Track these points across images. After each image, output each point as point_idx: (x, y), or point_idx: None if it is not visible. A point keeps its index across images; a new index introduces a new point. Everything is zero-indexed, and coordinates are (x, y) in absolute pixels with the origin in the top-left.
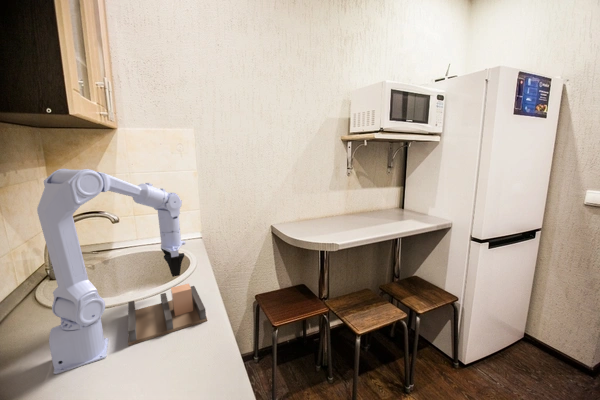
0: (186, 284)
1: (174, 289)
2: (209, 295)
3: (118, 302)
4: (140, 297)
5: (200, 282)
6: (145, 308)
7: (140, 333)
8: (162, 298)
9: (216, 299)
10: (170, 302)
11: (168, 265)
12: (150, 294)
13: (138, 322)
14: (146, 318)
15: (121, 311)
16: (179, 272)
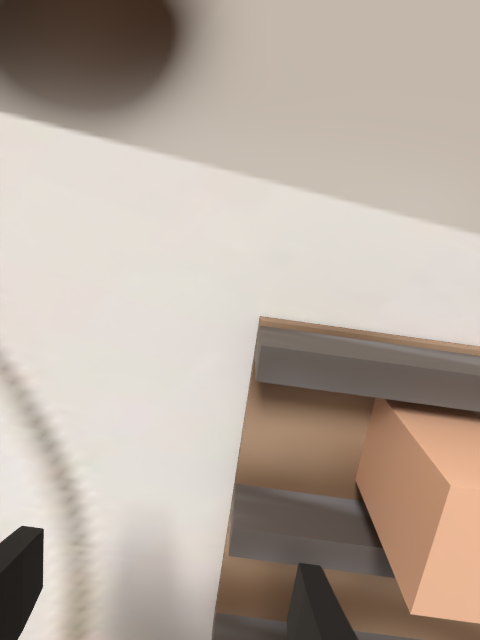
0: (454, 507)
1: (466, 602)
2: (305, 236)
3: (48, 634)
4: (55, 553)
5: (60, 214)
6: (235, 577)
7: (453, 630)
8: (300, 559)
9: (394, 218)
10: (261, 470)
11: (23, 628)
12: (49, 509)
13: (351, 621)
14: (342, 591)
15: (155, 636)
16: (333, 597)
